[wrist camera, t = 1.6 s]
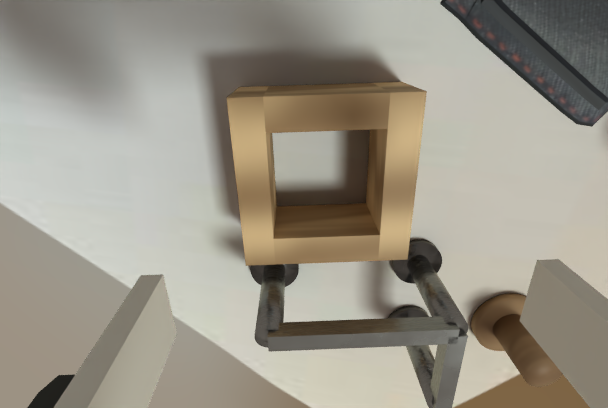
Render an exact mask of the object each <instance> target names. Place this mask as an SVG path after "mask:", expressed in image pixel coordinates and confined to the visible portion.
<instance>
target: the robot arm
mask: <svg viewBox="0 0 608 408" xmlns="http://www.w3.org/2000/svg"><path fill="white" fill-rule="evenodd" d="M520 322H521V323H522V324H523V326H524V327H525V328H526V329H527V331H528V332H529V333H530V334H531V335H532V337H533V338H534V339H535V340H536V342H537V343H538V344H539V345H540V347H541V348H542V349H543V350H544V351H545V353H546V354H547V355H548V356H549V358H550V359H551V360H552V361H553V362H554V364H555V365H556V366H557V367H558V369H559V370H560V371H561V372H562V374H563V375H564V376H565V377H566V378H567V380H568V381H569V382H570V383H571V385H572V386H573V387H574V388H575V389H576V391H577V392H578V393H579V394H580V396H581V397H582V398H583V399H584V401H585V402H586V403H587V404H588V405H589V407H590V408H608V299H607V298H605V297H604V296H603V295H602V294H600V293H599V292H598V291H597V290H596V289H594V288H593V287H592V286H591V285H589V284H588V283H587V282H586V281H585V280H583V279H582V278H581V277H580V276H578V275H577V274H576V273H575V272H573V271H572V270H571V269H570V268H569V267H567V266H566V265H565V264H564V263H562V262H561V261H560V260H559V259H555V260H537V262H536V266H535V269H534V272H533V276H532V279H531V283H530V286H529V290H528V293H527V296H526V300H525V303H524V307H523V310H522V314H521V317H520ZM176 336H177V332H176V328H175V324H174V319H173V315H172V311H171V307H170V302H169V298H168V294H167V290H166V285H165V281H164V277H163V275H141V276H140V278H139V279H138V281H137V282H136V284H135V285H134V287H133V288H132V290H131V291H130V293H129V294H128V296H127V297H126V299H125V300H124V302H123V303H122V305H121V306H120V308H119V309H118V311H117V313H116V314H115V315H114V317H113V318H112V320H111V321H110V323H109V324H108V326H107V328H106V329H105V331H104V332H103V334H102V335H101V337H100V338H99V340H98V341H97V343H96V344H95V346H94V347H93V349H92V350H91V352H90V353H89V355H88V356H87V358H86V359H85V361H84V363H83V364H82V366H81V367H80V368H79V370H78V371H77V373H76V375H59V376H57V377H56V378H55V379H54V380H53V381H52V382H50V383H49V384H48V385H47V386H46V387H45V388H43V389H42V390H41V391H40V392H39V393H38V394H37V396H36V397H35V398H34V399H33V401H32V402H31V404H30V405H29V406H28V408H148V406H149V403H150V400H151V398H152V396H153V393H154V391H155V388H156V386H157V383H158V381H159V378H160V376H161V373H162V371H163V368H164V365H165V363H166V361H167V358H168V356H169V353H170V351H171V348H172V346H173V343H174V341H175V338H176Z"/></svg>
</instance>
